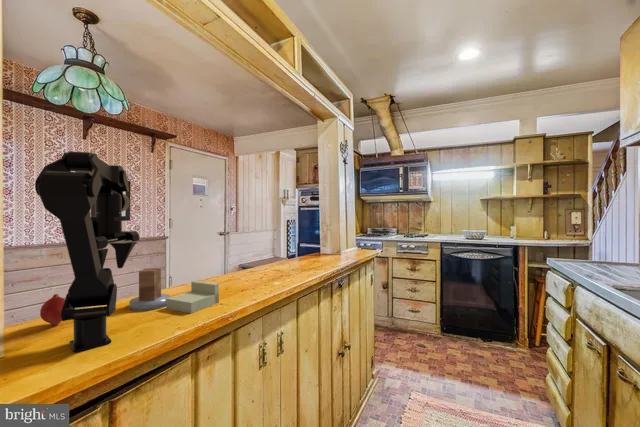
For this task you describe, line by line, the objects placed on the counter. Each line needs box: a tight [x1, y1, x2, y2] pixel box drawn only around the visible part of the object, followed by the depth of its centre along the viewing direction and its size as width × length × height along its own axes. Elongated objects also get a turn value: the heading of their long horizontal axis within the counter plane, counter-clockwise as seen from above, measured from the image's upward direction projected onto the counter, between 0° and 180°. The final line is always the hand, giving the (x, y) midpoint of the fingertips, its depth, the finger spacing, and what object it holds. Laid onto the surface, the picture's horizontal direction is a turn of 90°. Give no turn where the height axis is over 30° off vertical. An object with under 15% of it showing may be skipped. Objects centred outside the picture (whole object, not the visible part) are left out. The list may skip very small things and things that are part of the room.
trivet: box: [128, 293, 171, 312], centre depth 92 cm, size 11×11×2 cm
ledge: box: [165, 280, 220, 314], centre depth 92 cm, size 11×10×6 cm
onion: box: [39, 293, 65, 326], centre depth 76 cm, size 6×6×8 cm
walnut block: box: [138, 267, 162, 301], centre depth 92 cm, size 4×4×9 cm
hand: (109, 271), depth 79 cm, fingers open, 9 cm apart
